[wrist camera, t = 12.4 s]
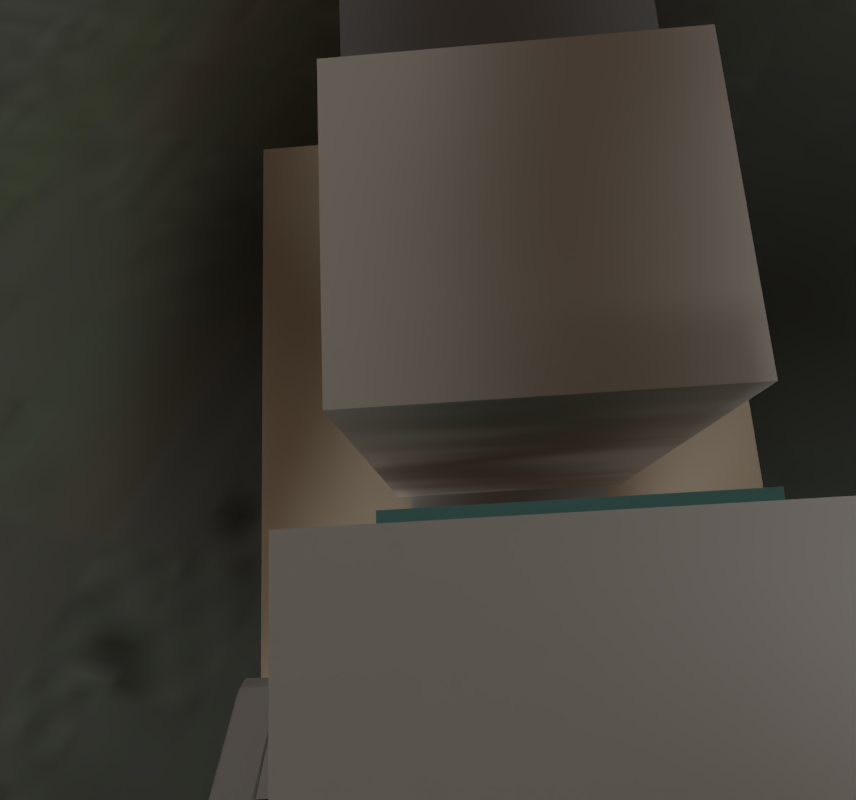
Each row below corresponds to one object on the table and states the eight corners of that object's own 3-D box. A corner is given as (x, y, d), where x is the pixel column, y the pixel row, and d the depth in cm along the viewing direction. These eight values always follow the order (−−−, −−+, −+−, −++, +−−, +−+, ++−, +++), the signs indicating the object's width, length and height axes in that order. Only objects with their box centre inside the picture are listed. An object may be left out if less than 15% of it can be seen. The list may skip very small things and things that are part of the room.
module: (408, 826, 14) (267, 1382, 4) (397, 552, 15) (269, 502, 6) (670, 817, 14) (1144, 1378, 4) (637, 539, 15) (934, 463, 5)
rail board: (278, 856, 17) (-34, 1298, 7) (277, 178, 22) (91, -208, 11) (794, 838, 17) (1358, 1285, 6) (685, 146, 21) (900, -293, 10)
